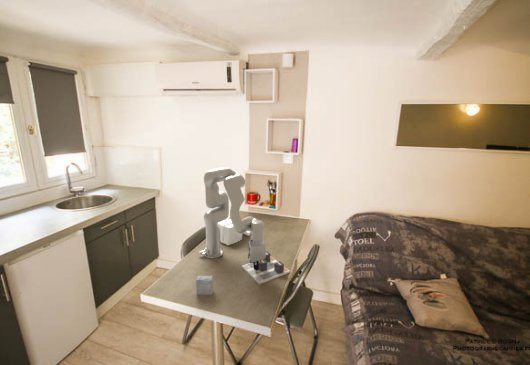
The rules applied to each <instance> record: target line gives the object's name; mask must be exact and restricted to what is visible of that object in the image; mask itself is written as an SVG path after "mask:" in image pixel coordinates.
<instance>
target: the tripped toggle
mask: <svg viewBox="0 0 530 365" xmlns="http://www.w3.org/2000/svg"><path fill="white" fill-rule="evenodd" d="M259 270H260V271H261V272H262V271H265V270H267V262H266V261H265V260H264V259H263V260H261V262H260V264H259Z"/></svg>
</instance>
